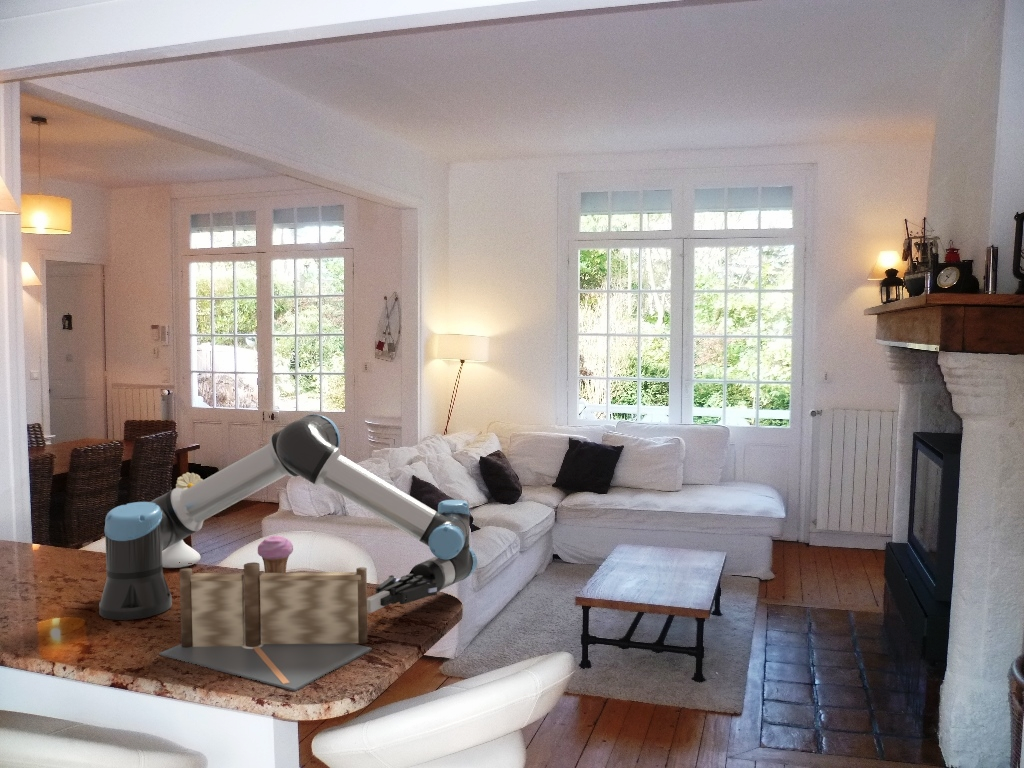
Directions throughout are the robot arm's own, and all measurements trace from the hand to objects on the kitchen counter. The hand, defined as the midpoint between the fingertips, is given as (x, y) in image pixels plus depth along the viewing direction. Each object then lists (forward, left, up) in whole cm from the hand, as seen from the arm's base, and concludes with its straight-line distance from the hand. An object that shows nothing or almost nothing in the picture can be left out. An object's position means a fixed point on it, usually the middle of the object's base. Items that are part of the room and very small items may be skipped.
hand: (367, 606), depth 178 cm
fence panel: (-7, -8, -6) cm, 12 cm away
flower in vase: (-78, +19, -7) cm, 80 cm away
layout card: (-13, -16, -7) cm, 21 cm away
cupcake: (-50, +25, -7) cm, 56 cm away
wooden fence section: (-23, -18, -6) cm, 30 cm away
